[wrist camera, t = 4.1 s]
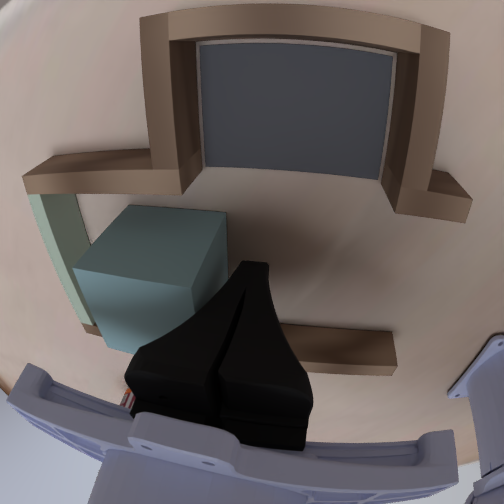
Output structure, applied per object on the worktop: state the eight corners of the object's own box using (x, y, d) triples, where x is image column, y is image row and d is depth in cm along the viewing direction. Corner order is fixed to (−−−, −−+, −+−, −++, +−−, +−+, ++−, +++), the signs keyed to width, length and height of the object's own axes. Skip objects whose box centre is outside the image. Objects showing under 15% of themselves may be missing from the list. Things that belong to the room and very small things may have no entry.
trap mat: (392, 56, 9) (392, 56, 9) (377, 178, 12) (377, 179, 12) (200, 45, 10) (199, 45, 10) (206, 165, 13) (205, 166, 13)
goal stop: (69, 172, 14) (39, 194, 12) (109, 298, 19) (92, 325, 17) (57, 173, 14) (27, 194, 12) (98, 296, 19) (80, 322, 17)
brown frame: (467, 48, 8) (500, 52, 6) (387, 342, 17) (391, 375, 15) (37, 58, 10) (1, 68, 8) (102, 306, 20) (86, 332, 18)
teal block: (225, 212, 14) (191, 288, 10) (228, 293, 17) (204, 370, 13) (128, 205, 15) (72, 267, 11) (145, 281, 18) (107, 347, 14)
